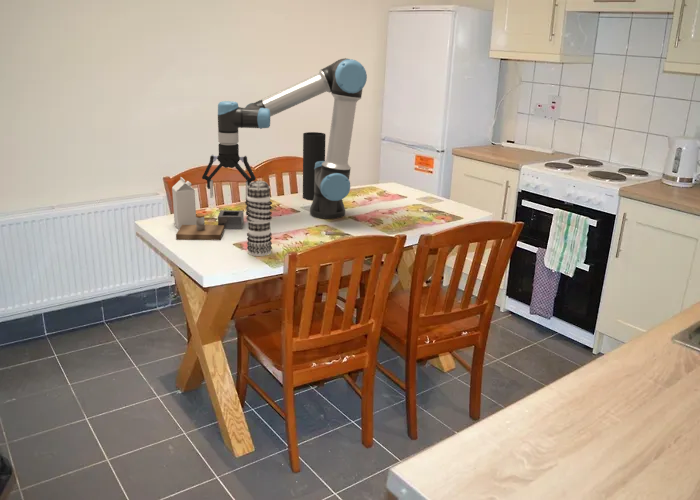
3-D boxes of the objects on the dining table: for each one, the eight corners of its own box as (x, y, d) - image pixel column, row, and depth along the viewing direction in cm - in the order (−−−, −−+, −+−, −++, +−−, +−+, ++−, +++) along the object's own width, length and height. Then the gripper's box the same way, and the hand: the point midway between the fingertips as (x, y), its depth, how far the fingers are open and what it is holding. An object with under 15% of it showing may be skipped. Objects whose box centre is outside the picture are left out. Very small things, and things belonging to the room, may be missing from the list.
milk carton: (178, 229, 235) (175, 181, 229) (174, 224, 241) (171, 177, 235) (196, 227, 238) (194, 179, 232) (192, 222, 244) (189, 175, 238)
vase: (302, 194, 292) (302, 132, 282) (323, 194, 293) (324, 132, 283) (303, 200, 282) (303, 135, 272) (324, 200, 283) (326, 135, 273)
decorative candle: (241, 254, 211) (239, 183, 203) (254, 246, 219) (253, 178, 211) (264, 258, 208) (263, 186, 200) (277, 250, 216) (276, 181, 208)
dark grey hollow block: (243, 222, 246) (243, 210, 244) (241, 229, 238) (241, 216, 236) (221, 222, 245) (220, 210, 244) (218, 228, 237) (217, 216, 235)
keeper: (224, 230, 236) (223, 210, 233) (220, 240, 224) (219, 219, 222) (182, 229, 234) (181, 209, 232) (176, 239, 223) (174, 218, 221)
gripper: (262, 142, 235) (262, 196, 242) (196, 140, 233) (198, 194, 240) (260, 146, 228) (260, 200, 235) (193, 143, 226) (195, 198, 233)
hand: (229, 197), depth 238 cm, fingers open, 13 cm apart
